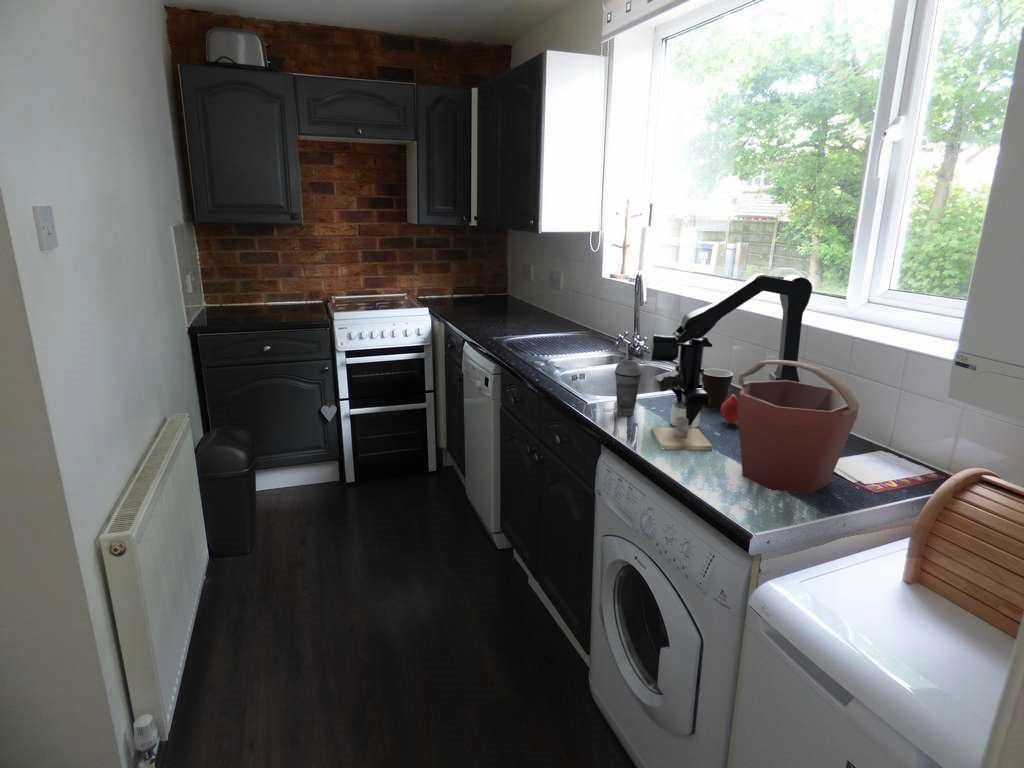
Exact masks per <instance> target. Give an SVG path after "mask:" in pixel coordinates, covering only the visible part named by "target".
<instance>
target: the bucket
mask: <svg viewBox="0 0 1024 768" xmlns="http://www.w3.org/2000/svg"><path fill="white" fill-rule="evenodd" d="M778 364H779V365H790V366H794V367H797V368H798V369H802V370H804V371H805V370H806V371H808V372H811V373H812V374H813V375H816V376H818V377H819V378H821V380H823V381H825V382H826V383H828V384H829V385H830V386H832V387H833V388H831V387H827V386H826V387H825V386H820V385H815V384H810V383H804V382H795V381H789V380H776V381H769V380H754V381H746V380H745V379H744V378H746V377H748V376H751V375H753V374H755V373H758V372H759V371H760V370H761V369H763V368H764V367H765V366H766V365H767V366H768V365H778ZM737 379H738V385H739V386H740V387H741V389H740V391H739V393H738V398H737V399H738V406H737V409H738V421H737V422H738V431H739V432H738V433H739V443H740V446H739V447H740V456H741V468H742V469H741V470H742V476H743V477H745V478H747V479H748V480H750V481H752V482H754V483H755V482H756V484H757V483H758V484H757V485H759V484H760V485H759V486H761V485H762V486H761V487H763V486H764V487H763V488H765V487H766V488H768V489H771V490H770V491H773V490H779V491H778V492H781V491H788V492H787V493H790V492H796V493H795V494H798V493H805V494H804V495H806V494H809V495H811V494H813V493H815V492H817V491H819V490H822V489H823V487H824V488H826V487H828V485H829V484H830V483H829V482H830V480H831V478H832V476H833V474H834V471H835V469H836V467H837V465H838V462H839V460H840V459H841V458H840V457H841V455H842V453H843V450H844V448H845V445H846V443H847V441H848V439H849V436H850V434H851V431H852V429H853V427H854V425H855V423H856V421H857V418H858V413H859V408H860V403H859V401H858V399H856V396H855V395H854V393H853V392H852V390H851V389H850V388H849V387H848V386H847V385H846V384H844V383H843V382H842V381H841V380H840V379H839V378H837V377H836V376H834V375H833V374H831V373H830V372H828V371H826V370H824V368H822V367H819V366H816V365H812V364H809V363H805V362H802V361H798V362H797V361H788V360H779V359H769V360H759V361H757V362H756V363H755V364H754V365H752V366H751V367H750V368H748V369H746V370H745V371H741V372H740V374H738V378H737ZM825 486H826V487H825ZM766 488H765V489H766ZM768 489H767V490H768ZM818 489H819V490H818ZM816 490H817V491H816ZM814 491H815V492H814ZM810 493H811V494H810Z"/></svg>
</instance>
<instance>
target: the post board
mask: <svg viewBox="0 0 1024 768" xmlns="http://www.w3.org/2000/svg"><path fill="white" fill-rule="evenodd" d="M688 421H689V419H687V418H684V417H678V418H676V424H675V426H674V427H650V433H651V434H652V436H653V435H654V436H653V438H654V439H655V440H657V441H656V442H657V444H658V443H659V444H658V445H660V446H661V447H660V446H659V447H660V449H661V448H669V449H668V450H692V451H693V450H694V451H696V450H699V451H712V450H713V445H712V443H711V442H710V441H709V440H708V439H707V438H706V436H705V435H704V434H703V432H701V430H700V429H699V428H698V427H696V428H688Z"/></svg>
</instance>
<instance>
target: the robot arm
mask: <svg viewBox="0 0 1024 768" xmlns="http://www.w3.org/2000/svg"><path fill="white" fill-rule="evenodd" d="M762 292H768V293H772V294H778V295H779V300H780V304H781V309H782V320H781V330H780V331H781V332H780V333H781V334H780V342H779V351H778V352H779V353H778V360H788V361H797V362H799V361H798V359H799V351H800V343H801V342H800V341H801V333H802V323H803V315H804V312H805V310H806V308H807V307H808V306H809V305H808V304H809V303H810V299H811V297H812V296H811V295H812V292H813V284H812V283H811V281H810V280H809V279H808V278H806V277H803V276H800V275H797V274H789V275H786V276H785V277H783V276H778V275H770V274H769V275H768V274H764V273H760V272H757V273H755V274H753V275H752V276H751V277H750V278H748V279H747V280H745V281H744V282H742V283H741V284H739V285H738V286H736V287H735V288H734V289H732V290H730V291H729V292H728V293H726V294H724V295H722V296H721V297H720V298H718V299H717V300H716V301H714V302H713V303H711V304H708V305H706V306H703V307H699V308H697V309H695V310H692V311H690V312H687V313H686V314H684V316H683V317H682V319H681V322H680V324H681V325H679V326H678V327H677V329H676V330H675V331H674V332H673V333H672V335H661V334H653V335H652V339H651V343H650V345H649V361H650V362H664V363H665V362H666V363H667V362H668V363H674V361H676V360H677V359H679V361H678V363H676V365H675V366H674V367H675V368H674V370H669V371H665V372H662V373H659V374H657V375H655V376H654V380H655V383H656V386H657V387H656V388H657V389H658V390H659V391H660V392H666V391H667V390H671V391H672V392H673V394H674V395H675V397H676V398H675V399H676V402H682V403H683V404H684V405H685V410H686V418H687V419H689V421H688V425H691V424H692V423H693V421H694V419H695V418H696V416H697V415H698V413H699V412H700V413H701V410H702V409H703V408H705V407H704V405H709V404H710V396H709V395H708V394H707V393H706V392H705V391H704V390H702V382H701V380H702V373H704V369H705V368H703V358H704V350H705V348H712V347H713V344H712V342H710V340H709V339H708V337H707V336H706V335H707V334H708V333H709V332H710V331H712V329H713V328H714V327H715V326H716V324H718V322H719V321H720V320H721V319H722V318H724V317H725V316H726V315H729V314H731V312H733V311H735V310H736V309H738V308H739V307H741V306H742V305H743V304H746V303H747V302H748V301H750V300H751V299H753V298H754V297H755V296H757V295H759V294H760V293H762ZM775 369H776V370H775V372H772V371H771V372H768V378H769V380H768V381H776V380H789V381H795V382H800V377H799V374H798V367H794V366H790V365H779V364H777V367H776V368H775ZM800 383H801V382H800Z"/></svg>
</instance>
